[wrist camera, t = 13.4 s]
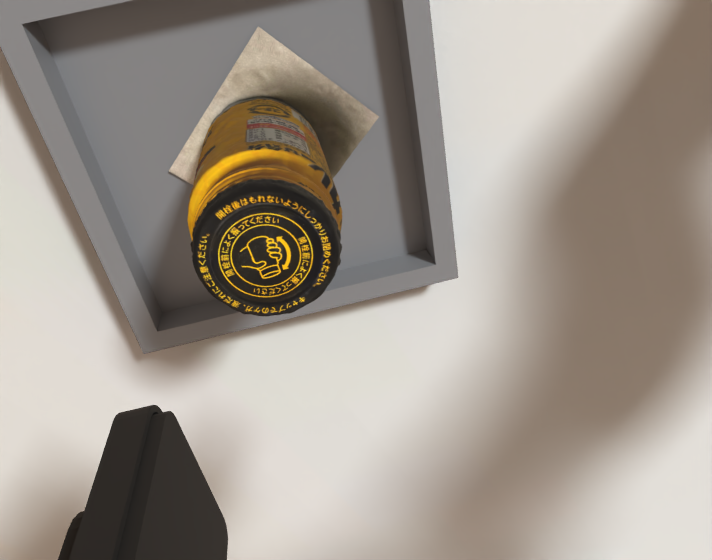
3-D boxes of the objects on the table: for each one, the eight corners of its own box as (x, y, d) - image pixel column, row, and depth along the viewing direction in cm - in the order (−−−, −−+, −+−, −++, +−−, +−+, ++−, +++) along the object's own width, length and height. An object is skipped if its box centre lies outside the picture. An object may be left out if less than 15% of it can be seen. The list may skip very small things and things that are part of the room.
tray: (0, -6, 26) (-23, -2, 24) (405, -91, 27) (418, -95, 24) (150, 329, 35) (143, 354, 33) (445, 258, 36) (458, 277, 34)
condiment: (169, 169, 30) (127, 284, 20) (258, 25, 27) (264, 71, 17) (287, 239, 33) (304, 370, 23) (377, 115, 30) (444, 199, 20)
